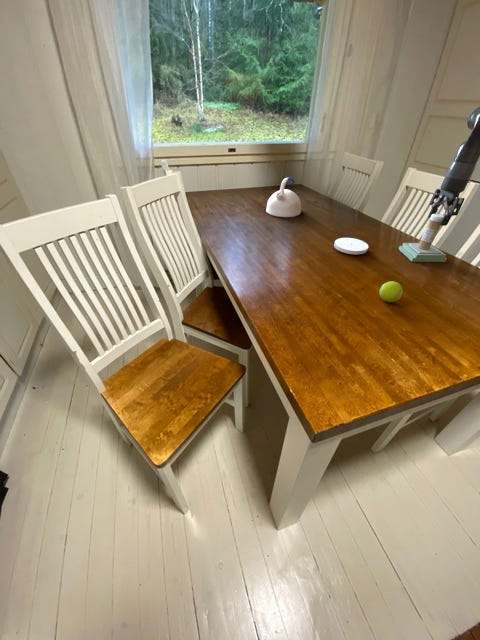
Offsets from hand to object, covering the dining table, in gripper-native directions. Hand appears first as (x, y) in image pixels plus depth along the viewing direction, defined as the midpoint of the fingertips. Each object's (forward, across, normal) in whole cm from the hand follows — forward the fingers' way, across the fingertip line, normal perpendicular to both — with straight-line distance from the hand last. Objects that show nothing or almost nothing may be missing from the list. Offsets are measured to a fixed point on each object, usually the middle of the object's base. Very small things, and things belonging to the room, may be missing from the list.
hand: (436, 221), depth 107 cm
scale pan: (+13, 0, 0) cm, 13 cm away
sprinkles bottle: (+11, 0, 0) cm, 11 cm away
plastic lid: (+15, +5, +29) cm, 33 cm away
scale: (+14, 0, 0) cm, 14 cm away
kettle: (+15, +56, +52) cm, 78 cm away
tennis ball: (+15, -34, +29) cm, 47 cm away
